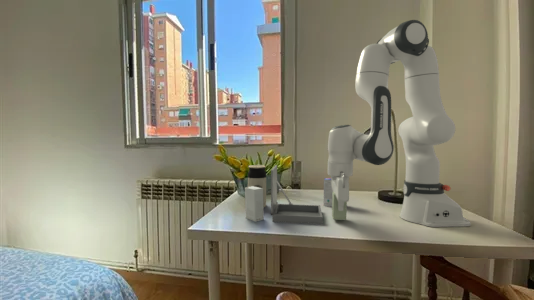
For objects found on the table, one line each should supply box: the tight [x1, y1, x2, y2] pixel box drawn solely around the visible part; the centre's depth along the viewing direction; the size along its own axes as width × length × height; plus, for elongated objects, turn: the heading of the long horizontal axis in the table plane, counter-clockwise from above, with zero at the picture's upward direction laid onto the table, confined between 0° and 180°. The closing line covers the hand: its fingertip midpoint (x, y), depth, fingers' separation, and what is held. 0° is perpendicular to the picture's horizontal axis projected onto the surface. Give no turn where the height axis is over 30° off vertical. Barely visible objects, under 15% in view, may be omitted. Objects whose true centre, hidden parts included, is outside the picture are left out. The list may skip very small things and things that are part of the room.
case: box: [270, 164, 324, 225], centre depth 104 cm, size 18×17×19 cm
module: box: [331, 192, 348, 221], centre depth 99 cm, size 4×4×10 cm
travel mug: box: [247, 164, 267, 208], centre depth 119 cm, size 8×8×18 cm
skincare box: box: [244, 186, 265, 222], centre depth 101 cm, size 6×4×12 cm
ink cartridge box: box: [323, 177, 333, 207], centre depth 121 cm, size 10×6×14 cm, turn 75°
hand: (339, 208), depth 99 cm, fingers closed on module, 4 cm apart
